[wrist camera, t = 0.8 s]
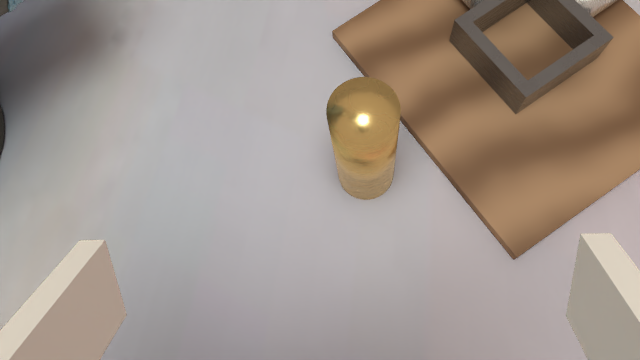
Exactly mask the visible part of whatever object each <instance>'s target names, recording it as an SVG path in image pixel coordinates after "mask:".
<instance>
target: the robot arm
mask: <svg viewBox="0 0 640 360" xmlns="http://www.w3.org/2000/svg"><path fill="white" fill-rule="evenodd" d="M22 1H24V0H0V16H1V15H3V14H5V13H7V12H11V11H13V10H15V8H16V6H17V5H18V4H19V3H21V2H22ZM3 140H4V117H3V113H2V109H1V106H0V153H1V150H2V146H3ZM126 315H127V314H126V310H125V307H124V303H123V300H122V296H121V293H120V289H119V286H118V283H117V279H116V276H115V272H114V269H113V265H112V262H111V259H110V255H109V252H108V248H107V245H106V241H105V240H80V241H79V242H78V243H77V244H76V245H75V246H74V247H73V249H72V250H71V251H70V252H69V253H68V254H67V255H66V256H65V258H64V259H63V260H62V261H61V262H60V263H59V264H58V266H57V267H56V268H55V269H54V270H53V271H52V272H51V274H50V275H49V276H48V277H47V278H46V279H45V280H44V282H43V283H42V284H41V285H40V286H39V287H38V288H37V289H36V291H35V292H34V293H33V294H32V295H31V296H30V297H29V299H28V300H27V301H26V302H25V303H24V304H23V305H22V307H21V308H20V309H19V310H18V311H17V312H16V313H15V314H14V316H13V317H12V318H11V319H10V320H9V321H8V322H7V324H6V325H5V326H4V327H3V328H2V329H1V330H0V360H100V359H101V357H102V355H103V354H104V352H105V350H106V349H107V347H108V345H109V344H110V342H111V340H112V339H113V337H114V335H115V334H116V332H117V330H118V329H119V327H120V325H121V324H122V322H123V320H124V319H125V317H126ZM566 317H567V319H568V321H569V323H570V325H571V327H572V329H573V331H574V333H575V335H576V337H577V339H578V341H579V343H580V345H581V347H582V349H583V351H584V353H585V355H586V357H587V359H588V360H640V271H639V269H638V268H637V267H636V265H635V264H634V263H633V261H632V260H631V259H630V257H629V256H628V255H627V254H626V252H625V251H624V250H623V248H622V247H621V246H620V244H619V243H618V242H617V240H616V239H615V238H614V237H613V235H612V234H611V233H604V234H580V240H579V245H578V251H577V257H576V262H575V268H574V273H573V279H572V284H571V290H570V296H569V301H568V307H567V312H566Z"/></svg>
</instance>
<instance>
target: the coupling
mask: <svg viewBox="0 0 640 360" xmlns="http://www.w3.org/2000/svg"><path fill="white" fill-rule="evenodd" d="M400 114H401V106H400V102H399V99H398V97H397V95H396V93H395V92H394V90H393V89H392V88H391V87H390V86H389V85H387V84H386V83H384V82H383V81H381V80H378V79H375V78H371V77H358V78H353V79H350V80H348V81H346V82H344V83H342V84H341V85H340V86H338V87H337V88H336V89H335V90H334V92H333V93H332V94H331V96H330V98H329V100H328V104H327V120H328V125H329V130H330V135H331V140H332V145H333V150H334V155H335V160H336V165H337V170H338V175H339V180H340V183H341V185H342V187H343V188H344V190H345V191H346V192H347V193H348V194H350V195H351V196H353V197H355V198H358V199H364V200H368V199H374V198H377V197H379V196H381V195H382V194H383V193H385V192H386V191H387V190H388V188H389V187H390V185H391V183H392V180H393V173H394V165H395V156H396V148H397V139H398V131H399V122H400Z"/></svg>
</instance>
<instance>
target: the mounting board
mask: <svg viewBox="0 0 640 360" xmlns="http://www.w3.org/2000/svg"><path fill="white" fill-rule="evenodd" d="M469 10H470V8H469V7H468V6H467V5H466V4H465V3H464V2H463V1H462V0H380V1H378V2H377V3H375V4H374V5H372V6H371V7H369V8H367V9H366V10H364V11H363V12H361V13H360V14H358V15H357V16H355V17H353V18H352V19H350V20H349V21H347V22H346V23H344V24H343V25H341V26H339V27H338V28H336V29H335V30H333V31H332V33H333V38H334V39H335V40H336V42H337V43H338V44H339V45H340V47H341V48H342V49H343V50H344V52H345V53H346V54H347V55H348V56H349V58H350V59H351V60H352V61H353V63H354V64H355V65H356V66H357V68H358V69H359V70H360V71H361V72H362V74H363V75H364V76H365V77H371V78H375V79H378V80H381V81H383V82H384V83H386V84H387V85H389V86H390V87H391V88H392V89H393V90H394V92H395V93H396V95H397V97H398V99H399V102H400V106H401V114H400V120H401V122H402V123H403V124H404V125H405V127H406V128H407V129H408V130H409V132H410V133H411V134H412V135H413V136H414V138H415V139H416V140H417V141H418V143H419V144H420V145H421V146H422V148H423V149H424V150H425V151H426V152H427V154H428V155H429V156H430V157H431V159H432V160H433V161H434V162H435V164H436V165H437V166H438V167H439V168H440V170H441V171H442V172H443V173H444V175H445V176H446V177H447V178H448V180H449V181H450V182H451V183H452V184H453V186H454V187H455V188H456V189H457V191H458V192H459V193H460V194H461V196H462V197H463V198H464V199H465V200H466V202H467V203H468V204H469V205H470V207H471V208H472V209H473V210H474V212H475V213H476V214H477V215H478V216H479V218H480V219H481V220H482V221H483V223H484V224H485V225H486V226H487V228H488V229H489V230H490V231H491V232H492V234H493V235H494V236H495V237H496V239H497V240H498V241H499V242H500V244H501V245H502V246H503V247H504V248H505V250H506V251H507V252H508V253H509V255H510V256H511V257H512V258H513V260H514V259H516V258H517V257H519V256H520V255H521V254H523V253H524V252H525V251H527V250H528V249H530V248H531V247H532V246H534V245H535V244H537V243H538V242H539V241H541V240H542V239H543V238H545V237H546V236H548V235H549V234H550V233H552V232H553V231H555V230H556V229H557V228H559V227H560V226H562V225H563V224H564V223H566V222H567V221H568V220H570V219H571V218H573V217H574V216H575V215H577V214H578V213H580V212H581V211H582V210H584V209H585V208H586V207H588V206H589V205H591V204H592V203H593V202H595V201H596V200H598V199H599V198H600V197H602V196H603V195H605V194H606V193H607V192H609V191H610V190H611V189H613V188H614V187H616V186H617V185H618V184H620V183H621V182H623V181H624V180H625V179H627V178H628V177H629V176H631V175H632V174H634V173H635V172H636V171H638V170H639V169H640V16H639V15H638V14H637V13H636V12H635V11H634V10H633V9H632V8H631V7H630V6H629V5H627V4H626V3H625V2H624V1H623V0H618V1H616V2H615V3H613V4H612V5H610V6H609V7H607V8H606V9H604V10H603V11H601V12H600V13H598V14H597V15H596V16H594V17H593V18H594V19H595V20H596V21H597V22H598V23H599V24H600V25H601V26H602V27H603V28H605V29H606V30H607V31H608V32H609V33H610V34H611V35H612V36H613V37H614V38H613V39H612V40H611V42H610V43H609V44H608V45H607V47H606V48H605V49H604V51H603V52H602V53H601V54H600V56H599V57H598V58H597V59H596V60H594V61H593V62H591V63H590V64H588V65H587V66H585V67H584V68H583V69H581V70H580V71H578V72H577V73H575V74H574V75H572V76H571V77H569V78H568V79H567V80H565V81H564V82H562V83H561V84H559V85H558V86H556V87H555V88H553V89H552V90H551V91H549V92H548V93H546V94H545V95H543V96H542V97H540V98H539V99H538V100H536V101H535V102H533V103H532V104H530V105H529V106H527V107H526V108H524V109H523V110H522V111H520V112H519V113H517V114H515V113H514V112H513V111H512V110H511V109H510V108H509V107H508V105H507V104H506V103H505V102H504V101H503V100H502V99H501V98H500V97H499V95H498V94H497V93H496V92H495V91H494V90H493V89H492V88H491V87H490V86H489V84H488V83H487V82H486V81H485V80H484V79H483V78H482V77H481V76H480V74H479V73H478V72H477V71H476V70H475V69H474V68H473V67H472V66H471V65H470V63H469V62H468V61H467V60H466V59H465V58H464V57H463V56H462V55H461V53H460V52H459V51H458V50H457V49H456V48H455V47H454V46H453V45H452V44H451V42H450V41H449V40H450V36H451V32H452V28H453V24H454V20H455V19H457V18H458V17H460V16H461V15H463V14H464V13H466V12H467V11H469ZM483 34H484V35H485V36H486V37H487V38H488V39H489V40H490V41H491V42H492V43H493V44H494V45H495V46H496V47H497V48H498V50H499V51H500V52H501V53H502V54H503V55H504V56H505V57H506V58H507V59H508V60H509V61H510V62H511V63H512V64H513V65H514V67H515V68H516V69H517V70H518V71H519V72H520V73H521V74H522V75H523V76H524V77H525V78H526V79H527V80H529V79H531V78H532V77H534V76H535V75H537V74H538V73H540V72H541V71H542V70H544V69H545V68H547V67H548V66H550V65H551V64H553V63H554V62H556V61H557V60H559V59H560V58H561V57H563V56H564V55H566V54H567V53H569V52H570V51H572V50H573V49H572V48H571V47H570V46H569V45H568V44H567V43H566V42H565V41H564V40H563V39H562V38H561V37H560V36H559V35H558V34H557V33H556V32H555V31H554V30H553V29H552V28H551V27H550V26H549V25H548V24H547V23H546V22H545V21H544V20H543V19H542V18H541V17H540V16H539V15H538V14H537V13H536V12H535V11H534V10H533V9H532V8H531V7H530V6H529V5H528V4H527V3H526V4H524V5H523V6H521V7H520V8H518V9H517V10H515V11H513V12H512V13H510V14H509V15H507V16H506V17H504V18H503V19H501V20H500V21H498V22H497V23H495V24H494V25H492V26H491V27H489V28H488V29H486V30H485V31H483Z"/></svg>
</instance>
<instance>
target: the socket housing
mask: <svg viewBox="0 0 640 360" xmlns="http://www.w3.org/2000/svg"><path fill="white" fill-rule="evenodd" d="M462 1H463V2H464V3H465V4H466V5H467V6H468V7H469V8H470V10H469V11H467V12H466V13H464V14H463V15H461V16H460V17H458V18H457V19H455V20H454V24H453V28H452V32H451V36H450V40H449V41H450V42H451V44H452V45H453V46H454V47H455V48H456V49H457V50H458V51H459V52H460V53H461V55H462V56H463V57H464V58H465V59H466V60H467V61H468V62H469V63H470V65H471V66H472V67H473V68H474V69H475V70H476V71H477V72H478V73H479V74H480V76H481V77H482V78H483V79H484V80H485V81H486V82H487V83H488V84H489V86H490V87H491V88H492V89H493V90H494V91H495V92H496V93H497V94H498V95H499V97H500V98H501V99H502V100H503V101H504V102H505V103H506V104H507V105H508V107H509V108H510V109H511V110H512V111H513V112H514V113H515V114H517V113H519V112H520V111H522V110H523V109H524V108H526V107H527V106H529V105H530V104H532V103H533V102H535V101H536V100H538V99H539V98H540V97H542V96H543V95H545V94H546V93H548V92H549V91H551V90H552V89H553V88H555V87H556V86H558V85H559V84H561V83H562V82H564V81H565V80H567V79H568V78H569V77H571V76H572V75H574V74H575V73H577V72H578V71H580V70H581V69H583V68H584V67H585V66H587V65H588V64H590V63H591V62H593V61H594V60H596V59H597V58H598V57H599V56H600V54H601V53H602V52H603V51H604V49H605V48H606V47H607V45H608V44H609V43H610V42H611V40H612V39H613V38H614V37H613V36H612V35H611V34H610V33H609V32H608V31H607V30H606V29H605V28H603V27H602V26H601V25H600V24H599V23H598V22H597V21H596V20H595V19H594V18H593V17H594V16H596V15H597V14H598V13H600V12H601V11H603V10H604V9H606V8H607V7H609V6H610V5H612V4H613V3H615V2H616V1H618V0H462ZM526 3H527V4H528V5H529V6H530V7H531V8H532V9H533V10H534V11H535V12H536V13H537V14H538V15H539V16H540V17H541V18H542V19H543V20H544V21H545V22H546V23H547V24H548V25H549V26H550V27H551V28H552V29H553V30H554V31H555V32H556V33H557V34H558V35H559V36H560V37H561V38H562V39H563V40H564V41H565V42H566V43H567V44H568V45H569V46H570V47H571V48H572V49H573V50H572V51H570V52H569V53H567V54H566V55H564V56H563V57H561V58H560V59H559V60H557V61H556V62H554V63H553V64H551V65H550V66H548V67H547V68H545V69H544V70H542V71H541V72H540V73H538V74H537V75H535V76H534V77H532V78H531V79H529V80H527V79H526V78H525V77H524V76H523V75H522V74H521V73H520V72H519V71H518V70H517V69H516V68H515V67H514V65H513V64H512V63H511V62H510V61H509V60H508V59H507V58H506V57H505V56H504V55H503V54H502V53H501V52H500V51H499V50H498V48H497V47H496V46H495V45H494V44H493V43H492V42H491V41H490V40H489V39H488V38H487V37H486V36H485V35H484V34H483V31H485V30H486V29H488V28H489V27H491V26H492V25H494V24H495V23H497V22H498V21H500V20H501V19H503V18H504V17H506V16H507V15H509V14H510V13H512V12H513V11H515V10H517V9H518V8H520V7H521V6H523V5H524V4H526Z"/></svg>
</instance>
